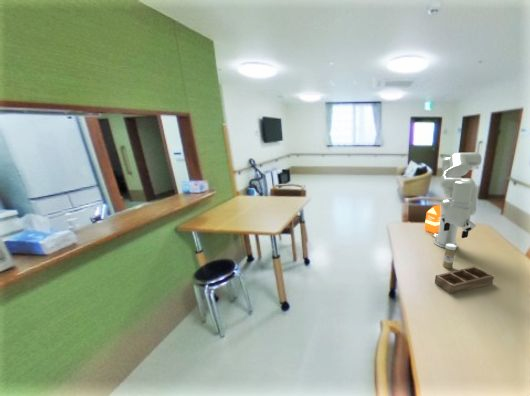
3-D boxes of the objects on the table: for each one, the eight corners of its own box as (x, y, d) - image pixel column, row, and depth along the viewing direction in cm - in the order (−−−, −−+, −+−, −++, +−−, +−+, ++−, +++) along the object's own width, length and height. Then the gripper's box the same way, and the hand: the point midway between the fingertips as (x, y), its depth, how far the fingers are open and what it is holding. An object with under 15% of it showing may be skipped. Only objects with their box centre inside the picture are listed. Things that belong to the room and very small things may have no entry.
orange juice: (424, 229, 178) (427, 205, 173) (432, 227, 181) (435, 203, 175) (434, 233, 171) (438, 208, 166) (442, 230, 174) (446, 205, 168)
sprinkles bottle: (442, 266, 132) (445, 245, 128) (442, 263, 135) (446, 242, 131) (452, 269, 129) (456, 247, 125) (452, 265, 132) (456, 244, 128)
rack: (434, 282, 119) (435, 275, 118) (472, 273, 124) (474, 266, 123) (451, 294, 111) (453, 286, 109) (492, 283, 115) (493, 275, 114)
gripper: (438, 200, 128) (434, 229, 133) (472, 210, 112) (466, 241, 117) (449, 199, 130) (445, 227, 134) (483, 207, 114) (477, 239, 118)
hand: (454, 233), depth 126 cm, fingers open, 9 cm apart
